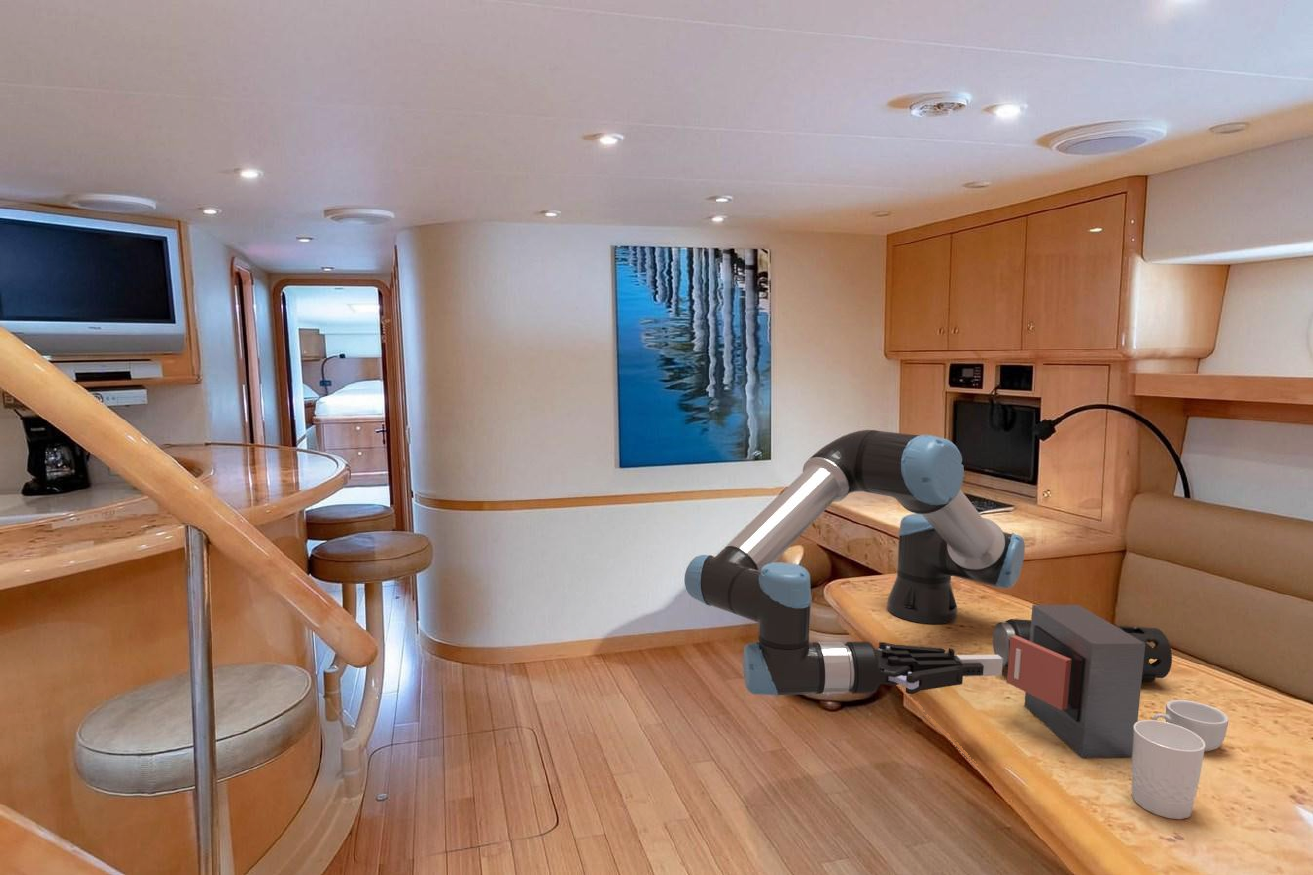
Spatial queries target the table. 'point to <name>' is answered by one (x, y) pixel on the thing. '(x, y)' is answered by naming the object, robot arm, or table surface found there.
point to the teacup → (1198, 720)
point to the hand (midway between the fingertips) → (999, 664)
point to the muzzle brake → (1141, 633)
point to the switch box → (1091, 680)
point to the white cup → (1166, 768)
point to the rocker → (1039, 672)
